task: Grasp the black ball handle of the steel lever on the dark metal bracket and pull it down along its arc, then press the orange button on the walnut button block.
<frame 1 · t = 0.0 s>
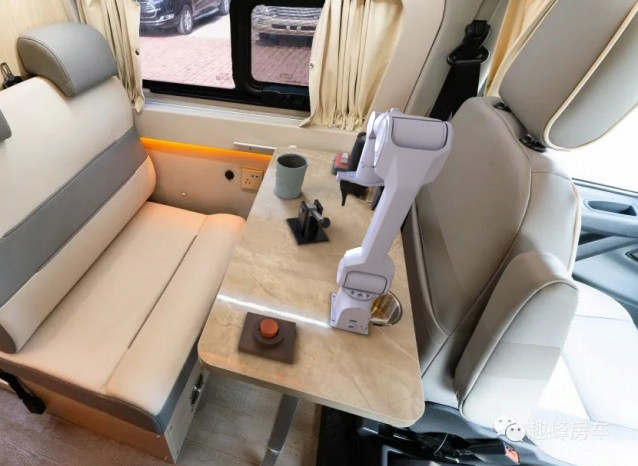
hand: (357, 206, 89), 10 cm above the table, tool pointing down, fingers open, 7 cm apart
button: (268, 328, 68), point 4 cm above the table, slide at 0.1 cm
lever: (317, 216, 88), point 9 cm above the table, hinge at 15.0°
green cup: (287, 192, 113), on the table
walkie-talkie: (345, 164, 126), on the table
bracket: (306, 230, 97), on the table
button block: (267, 338, 71), on the table
portable speaker: (354, 190, 113), on the table
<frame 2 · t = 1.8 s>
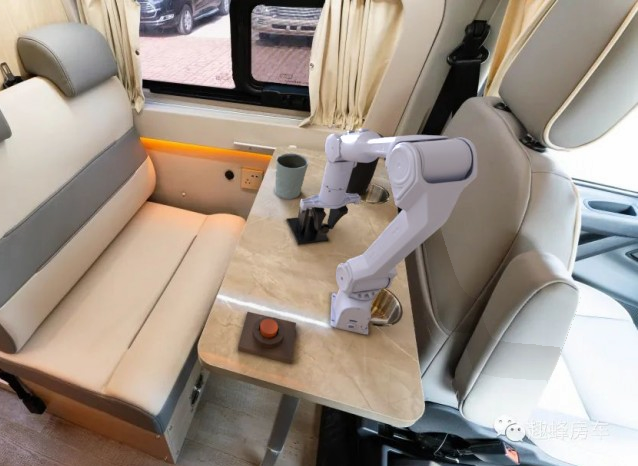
hand: (323, 227, 85), 9 cm above the table, tool pointing down, fingers closed on lever, 3 cm apart
lever: (317, 219, 88), point 8 cm above the table, hinge at 3.4°, touching gripper
everything else where it was.
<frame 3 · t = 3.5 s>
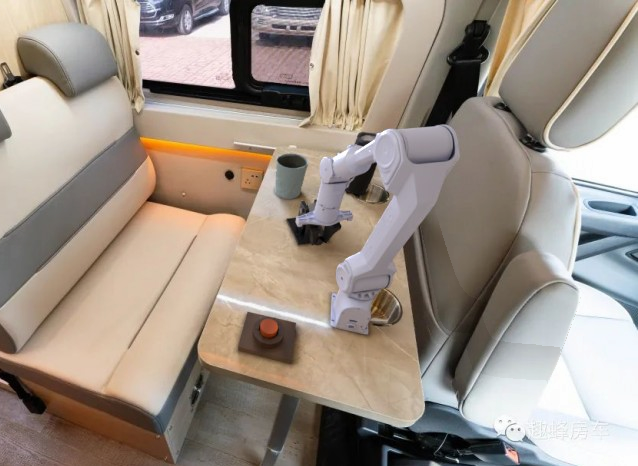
hand: (318, 241, 89), 3 cm above the table, tool pointing down, fingers closed on lever, 3 cm apart
lever: (314, 224, 91), point 6 cm above the table, hinge at -31.9°, touching gripper
everything else where it was.
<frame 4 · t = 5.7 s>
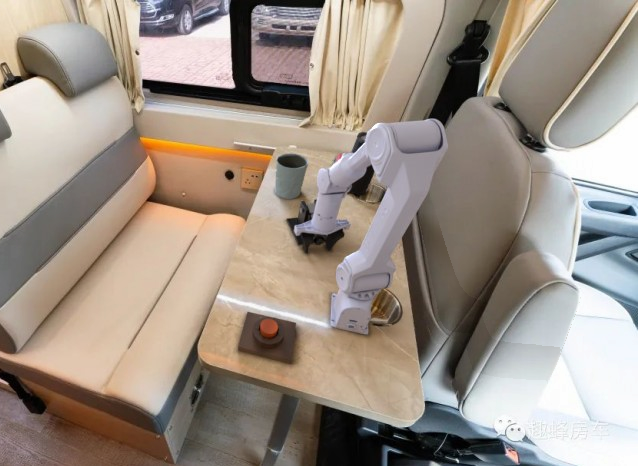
hand: (316, 249, 91), 0 cm above the table, tool pointing down, fingers open, 6 cm apart
lever: (314, 224, 91), point 6 cm above the table, hinge at -29.2°
everything else where it was.
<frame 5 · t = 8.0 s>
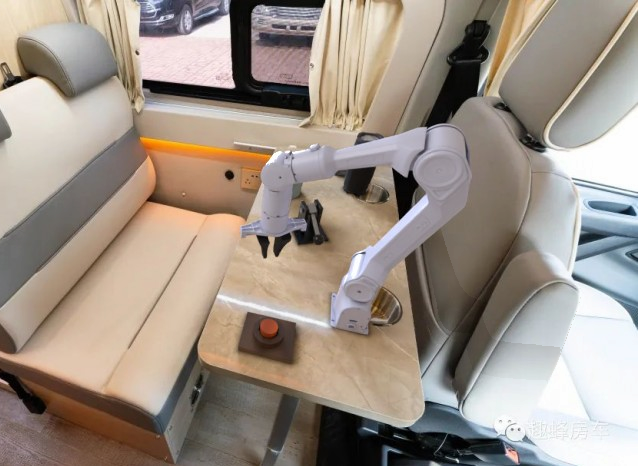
hand: (269, 254, 77), 9 cm above the table, tool pointing down, fingers closed
nothing on the table moved.
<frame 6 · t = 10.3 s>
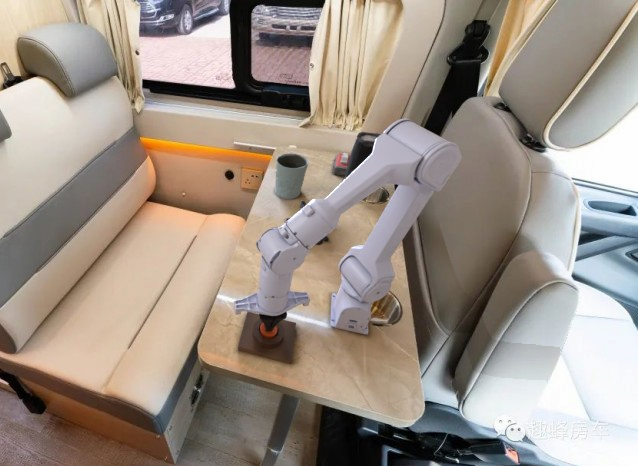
hand: (268, 326, 69), 4 cm above the table, tool pointing down, fingers closed, pressing on button
button: (268, 330, 69), point 3 cm above the table, slide at -0.7 cm, touching gripper
everything else where it was.
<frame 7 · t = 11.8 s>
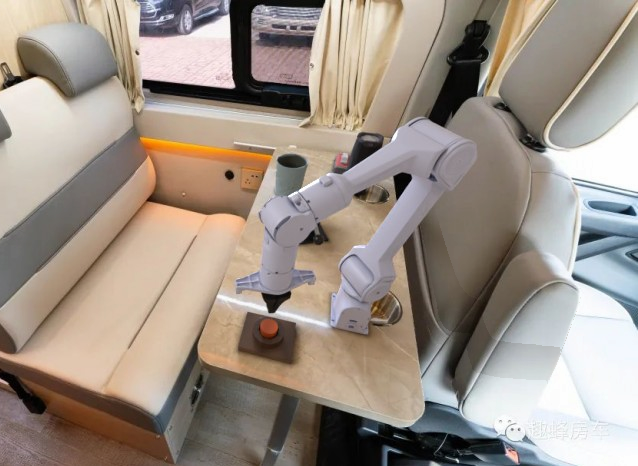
hand: (270, 308, 64), 10 cm above the table, tool pointing down, fingers closed
button: (268, 328, 68), point 4 cm above the table, slide at 0.1 cm
everything else where it was.
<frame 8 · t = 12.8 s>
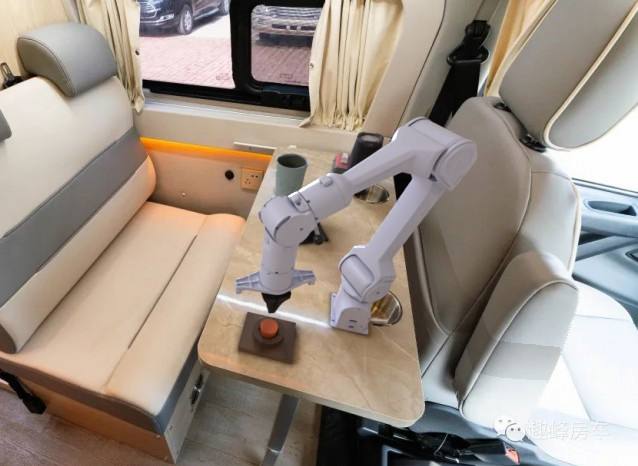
hand: (270, 308, 64), 10 cm above the table, tool pointing down, fingers closed
nothing on the table moved.
at the end: lever at -29° (first picture: +15°); button pushed in 1.2 cm at the most during the clip, back to where it started at the end; button slide at 0.1 cm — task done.
